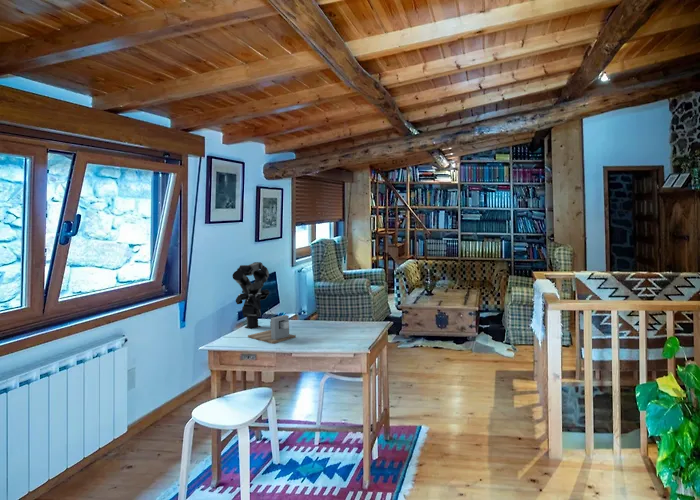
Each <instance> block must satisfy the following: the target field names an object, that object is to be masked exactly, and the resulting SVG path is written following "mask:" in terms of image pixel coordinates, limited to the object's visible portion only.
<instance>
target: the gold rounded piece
mask: <svg viewBox="0 0 700 500" xmlns="http://www.w3.org/2000/svg"><path fill="white" fill-rule="evenodd" d="M279 328H283V329H286V328H289V329H290V322H288V321H283V320H282V321H279Z"/></svg>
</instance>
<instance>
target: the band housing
mask: <svg viewBox="0 0 700 500" xmlns="http://www.w3.org/2000/svg"><path fill="white" fill-rule="evenodd" d="M289 319H290V317H289V315H286V314H284V315H278V316H273V317H270V321H269V322H270V325H269V326H270V327H269V328H270V330H271V339H274V340H277V339H281V338H285V337H288V336H289V334H290V327H289V328H286V329H283V328H279V321H282V320H283V321H288V322H289V321H290V320H289ZM289 323H290V322H289Z"/></svg>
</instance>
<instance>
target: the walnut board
mask: <svg viewBox="0 0 700 500" xmlns="http://www.w3.org/2000/svg"><path fill="white" fill-rule="evenodd" d="M296 337H297V336H296V334H291V333H289V336H288V337H285V338H281V339H277V340H274V339H271V329H269V330H268V329H267V330H264V331H260V332H256V333H251V334H248V335H247V338H249V339H253V340H257V341H261V342H264V343H268V344H272V345H273V344H276V343H280V342H284V341H288V340H291V339H295V338H296Z"/></svg>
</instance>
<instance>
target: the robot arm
mask: <svg viewBox="0 0 700 500" xmlns="http://www.w3.org/2000/svg"><path fill="white" fill-rule="evenodd" d="M232 273H233V274H232V279H233V280H234V281H235V282H236V283H237V284H238V285H239V286H240V288H241V293H239V294H238V295H237V297H236V298H235V303H236V305H241V304H243V305H242V308H241V309H242V310H241V311H242V312H241V313H242V316H243V318H246V325H245V326H244V328H246V329H251V330H252V329H253V330H254V329H256V328H261V325H259V318H260V317H261V315H262V313H261V310H262V306H261V301H265V300H266V299H268V296H270V294H271V292H270V290H269V289H262V288H263V287H264V284H265V283H266V282H267V280H268V278H269V276H270V272H269V270H268V267H266V266H265V265H264V264H263V262H260V261H256V262H252V263H250V264H241V265H239V266H238V268H237V269H236V271H234V272H232ZM248 276H253V279H254V282H253V283H252V282H251V280H250V278H249V277H248ZM243 301H244V303H243Z"/></svg>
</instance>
